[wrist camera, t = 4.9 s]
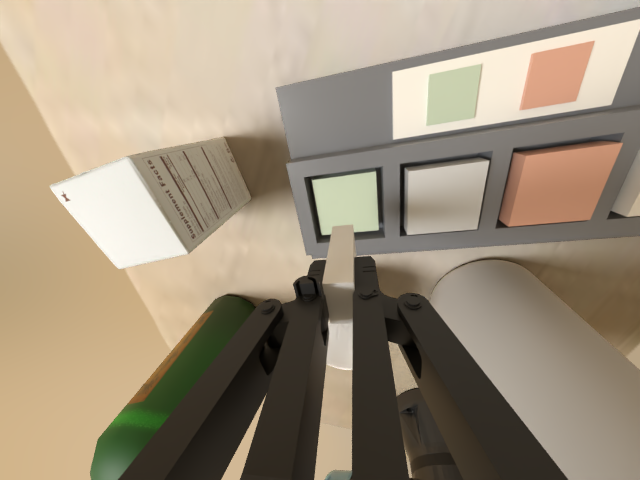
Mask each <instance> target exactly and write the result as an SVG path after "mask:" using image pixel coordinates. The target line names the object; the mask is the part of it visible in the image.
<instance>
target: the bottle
mask: <svg viewBox="0 0 640 480" xmlns="http://www.w3.org/2000/svg"><path fill="white" fill-rule="evenodd" d="M254 310H255V307H254V306H253V305H252V304H251V303H249V302H247V301H246V300H244V299H242V298H240V297H234V296H223V297H220V298H218V299H215V300H214V301H213V303H212V304H211V305H210V306H209V307H208V308H207V310H206V311H205V312H204V313H203V314H202V316H201V317H200V318H199V319H198V320H197V322H196V323H195V324H194V325H193V326H192V328H191V329H190V330H189V331H188V332H187V334H186V335H185V336H184V337H183V338H182V340H181V341H180V342H179V343H178V344H177V345H176V347H175V348H174V349H173V350H172V351H171V353H170V354H169V355H168V356H167V357H166V359H165V360H164V361H163V362H162V363H161V365H160V366H159V367H158V368H157V369H156V371H155V372H154V373H153V374H152V375H151V377H150V378H149V379H148V380H147V381H146V383H145V384H144V385H143V386H142V387H141V389H140V390H139V391H138V392H137V393H136V395H135V396H134V397H133V398H132V399H131V400H130V402H129V403H128V404H127V405H126V406H125V407H124V409H123V410H122V411H121V412H120V413H119V415H118V416H117V417H116V418H115V419H114V421H113V422H112V423H111V424H110V425H109V427H108V428H107V429H106V430H105V431H104V433H103V434H102V435H101V436H100V437H99V439H98V441H97V445H96V450H95V453H94V458H93V462H92V466H91V471H90V476H91V480H118V479H119V478H120V476H121V475H122V474H123V473H124V471H125V470H126V469H127V468H128V466H129V465H130V464H131V463H132V461H133V460H134V459H135V458H136V456H137V455H138V454H139V453H140V452H141V450H142V449H143V448H144V447H145V445H146V444H147V443H148V442H149V440H150V439H151V438H152V437H153V435H154V434H155V433H156V432H157V430H158V429H159V428H160V427H161V425H162V424H163V423H164V422H165V420H166V419H167V418H168V417H169V415H170V414H171V413H172V412H173V410H174V409H175V408H176V407H177V405H178V404H179V403H180V402H181V400H182V399H183V398H184V397H185V395H186V394H187V393H188V392H189V391H190V389H191V388H192V387H193V386H194V384H195V383H196V382H197V381H198V379H199V378H200V377H201V376H202V374H203V373H204V372H205V371H206V369H207V368H208V367H209V366H210V364H211V363H212V362H213V361H214V359H215V358H216V357H217V356H218V354H219V353H220V352H221V351H222V349H223V348H224V347H225V346H226V344H227V343H228V342H229V341H230V339H231V338H232V337H233V336H234V334H235V333H236V332H237V331H238V330H239V328H240V327H241V326H242V325H243V323H244V322H245V321H246V320H247V318H248V317H249V316H250V315H251V313H252V312H253V311H254Z"/></svg>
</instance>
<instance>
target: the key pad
mask: <svg viewBox="0 0 640 480" xmlns="http://www.w3.org/2000/svg"><path fill="white" fill-rule="evenodd" d="M276 92H277V97H278V101H279V106H280V111H281V115H282V120H283V125H284V129H285V134H286V139H287V143H288V148H289V153H290V157H291V160H290V161H289V162H288V163H286V167H287V171H288V176H289V180H290V185H291V189H292V193H293V198H294V202H295V207H296V211H297V215H298V220H299V224H300V229H301V233H302V237H303V242H304V246H305V251H306V255H312V259H316V258H327V254H328V249H329V243H330V238H331V234H330V235H322V233H321V228H320V222H319V217H318V211H317V206H316V200H315V195H314V189H313V184H312V179H313V177H314V176H319V175H326V174H333V173H341V172H348V171H355V170H362V169H369V168H375V170H376V183H377V204H378V225H379V230H375V231H364V232H354V238H355V247H356V256H359V255H373V254H387V253H402V252H416V251H431V250H445V249H459V248H474V247H488V246H502V245H517V244H531V243H545V242H560V241H574V240H588V239H603V238H617V237H631V236H640V216H631V217H626V216H623V215H621V214H618V213H615V212H613V211H611V209H612V206H613V204H614V202H615V200H616V198H617V196H618V194H619V191H620V189H621V187H622V185H623V183H624V181H625V179H626V177H627V174H628V172H629V170H630V168H631V166H632V164H633V162H634V159H635V157H636V155H637V153H638V151H639V149H640V7H637V8H633V9H628V10H624V11H619V12H615V13H610V14H606V15H601V16H597V17H592V18H588V19H583V20H579V21H574V22H570V23H565V24H561V25H556V26H552V27H547V28H543V29H538V30H534V31H529V32H525V33H520V34H516V35H511V36H507V37H502V38H498V39H493V40H488V41H484V42H479V43H475V44H470V45H466V46H461V47H457V48H452V49H448V50H443V51H439V52H434V53H430V54H425V55H421V56H416V57H412V58H407V59H403V60H398V61H394V62H389V63H385V64H380V65H376V66H371V67H367V68H362V69H358V70H353V71H349V72H344V73H339V74H335V75H330V76H326V77H321V78H317V79H312V80H308V81H303V82H299V83H294V84H290V85H285V86H281V87H276ZM595 141H610V142H619V143H623V145H622V147H621V149H620V152H619V154H618V156H617V158H616V161H615V163H614V165H613V168H612V170H611V172H610V175H609V177H608V179H607V182H606V184H605V186H604V189H603V191H602V193H601V196H600V198H599V200H598V203H597V205H596V207H595V210H594V212H593V214H592V217H591V219H590V220H583V221H571V222H559V223H547V224H535V225H523V226H511V227H508V226H507V225H505V224H504V223H503V222H501V221H500V220H499V214H500V210H501V205H502V201H503V196H504V192H505V187H506V183H507V178H508V174H509V169H510V165H511V160H512V156H513V153H514V152H522V151H529V150H536V149H544V148H551V147H558V146H566V145H573V144H580V143H588V142H595ZM478 157H480V158H483V159H486V160H489V166H488V171H487V177H486V182H485V188H484V193H483V199H482V205H481V210H480V216H479V221H478V227H477V229H475V230H463V231H451V232H438V233H426V234H414V235H407V233H406V231H405V229H404V183H405V167H412V166H419V165H426V164H434V163H441V162H448V161H456V160H463V159H470V158H478Z"/></svg>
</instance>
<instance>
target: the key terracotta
mask: <svg viewBox="0 0 640 480" xmlns="http://www.w3.org/2000/svg"><path fill="white" fill-rule="evenodd" d="M622 145H623V143H619V142H610V141H595V142H588V143H580V144H573V145H566V146H558V147H551V148H544V149H536V150H529V151H522V152H514V153H513V156H512V160H511V165H510V169H509V174H508V178H507V183H506V187H505V192H504V196H503V201H502V205H501V210H500V214H499V220H500V221H501V222H503V223H504V224H505V225H507V226H508V227H511V226H523V225H535V224H547V223H559V222H571V221H583V220H590V219H591V217H592V214H593V212H594V210H595V207H596V205H597V203H598V200H599V198H600V196H601V193H602V191H603V189H604V186H605V184H606V182H607V179H608V177H609V175H610V172H611V170H612V168H613V165H614V163H615V161H616V158H617V156H618V154H619V152H620V149H621V147H622Z"/></svg>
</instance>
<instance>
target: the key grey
mask: <svg viewBox="0 0 640 480" xmlns="http://www.w3.org/2000/svg"><path fill="white" fill-rule="evenodd" d="M488 166H489V160H486V159H483V158H480V157H478V158H470V159H463V160H456V161H448V162H441V163H434V164H426V165H419V166H412V167H405V183H404V229H405V231H406V233H407V235H414V234H426V233H438V232H451V231H463V230H475V229H477V227H478V221H479V216H480V210H481V205H482V199H483V193H484V188H485V182H486V177H487V171H488Z"/></svg>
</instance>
